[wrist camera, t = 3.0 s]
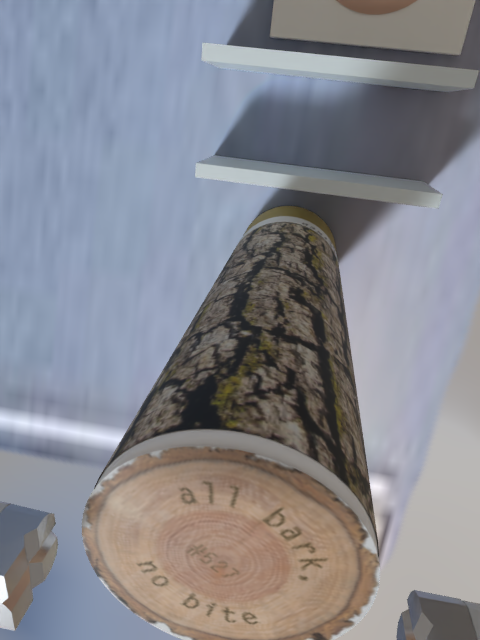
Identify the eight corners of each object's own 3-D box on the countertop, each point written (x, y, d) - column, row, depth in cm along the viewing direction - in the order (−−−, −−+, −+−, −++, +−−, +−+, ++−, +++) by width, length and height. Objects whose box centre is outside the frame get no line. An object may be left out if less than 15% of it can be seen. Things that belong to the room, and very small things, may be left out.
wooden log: (287, 182, 30) (204, 383, 8) (356, 249, 31) (451, 588, 9) (223, 251, 33) (30, 543, 11) (289, 310, 34) (237, 684, 12)
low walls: (221, 53, 28) (202, 42, 23) (451, 77, 26) (479, 70, 22) (212, 167, 31) (195, 177, 26) (419, 193, 29) (438, 208, 25)
